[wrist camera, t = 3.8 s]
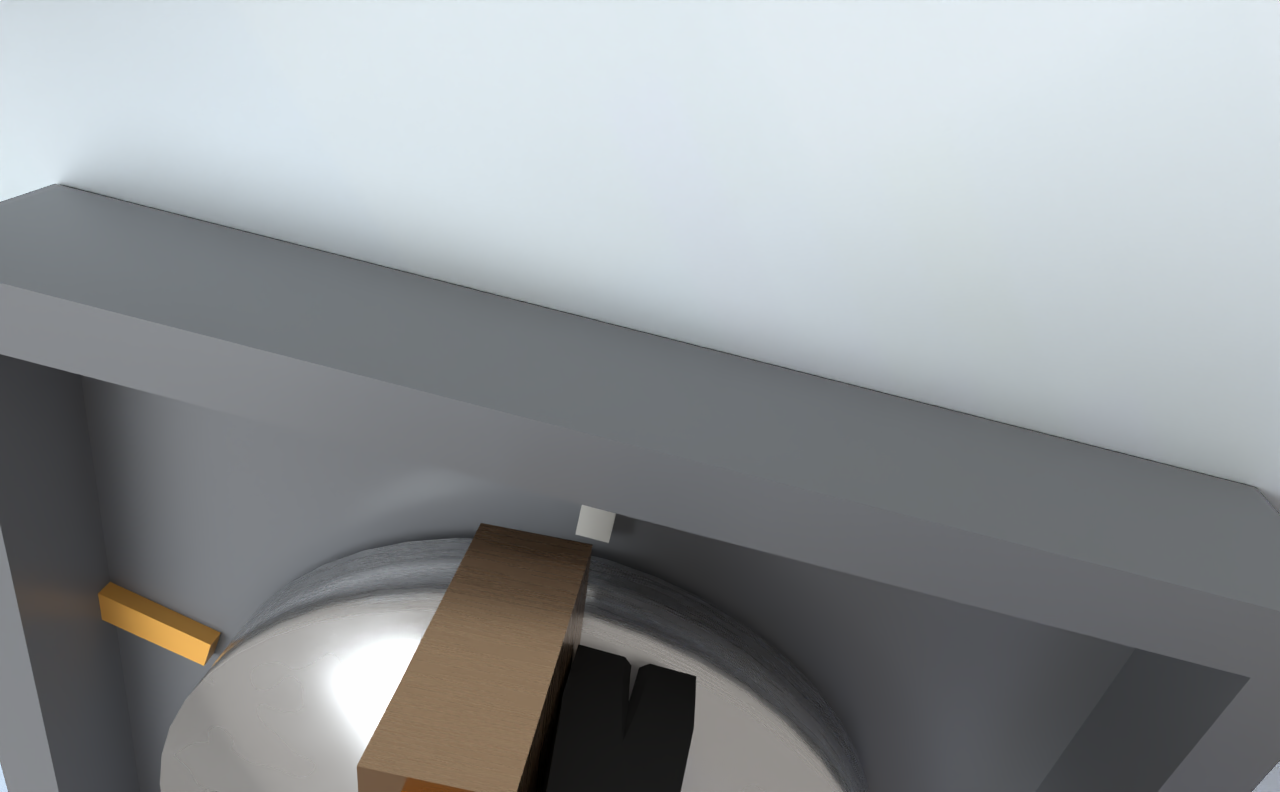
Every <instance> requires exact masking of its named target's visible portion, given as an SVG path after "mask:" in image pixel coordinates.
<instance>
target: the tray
mask: <svg viewBox="0 0 1280 792" xmlns="http://www.w3.org/2000/svg"><path fill="white" fill-rule="evenodd" d="M481 523H485V524H490V525H495V526H500V527H505V528H510V529H516V530H521V531H526V532H531V533H536V534H541V535H546V536H552V537H557V538H562V539H567V540H572V541H577V542H582V543H587V544H593V546H592V554H591V556H595V557H599V558H603V559H607V560H610V561H613V562H616V563H619V564H621V565H624V566H627V567H630V568H632V569H635V570H638V571H641V572H644V573H646V574H649V575H652V576H655V577H657V578H660V579H662V580H664V581H666V582H668V583H670V584H672V585H674V586H676V587H679V588H681V589H683V590H685V591H687V592H689V593H691V594H693V595H695V596H697V597H699V598H701V599H703V600H706V601H707V602H709V603H710V604H712V605H714V606H715V607H717V608H718V609H720V610H722V611H723V612H725V613H726V614H728V615H730V616H731V617H733V618H735V619H736V620H738V621H739V622H741V623H743V624H744V625H746V626H747V627H749V628H750V629H751V630H753V631H754V632H755V633H756V634H758V635H759V636H760V637H761V638H763V639H764V640H765V641H766V642H768V643H769V644H770V645H772V646H773V647H774V648H775V649H777V650H778V651H779V652H780V653H782V654H783V655H784V656H785V657H786V658H787V659H788V660H789V661H790V662H791V663H792V664H793V665H794V666H795V667H796V668H797V669H798V670H799V671H800V672H801V673H802V674H803V675H804V676H805V677H806V678H807V679H808V680H809V681H810V682H811V683H812V684H813V685H814V686H815V687H816V688H817V690H818V691H819V692H820V694H821V695H822V697H823V698H824V699H825V701H826V702H827V703H828V705H829V706H830V707H831V709H832V710H833V711H834V713H835V714H836V715H837V717H838V718H839V720H840V721H841V723H842V725H843V727H844V729H845V731H846V732H847V734H848V736H849V738H850V740H851V742H852V744H853V746H854V748H855V750H856V752H857V754H858V757H859V760H860V763H861V766H862V769H863V772H864V776H865V779H866V782H867V785H868V792H1252V791H1253V790H1254V788H1255V787H1256V786H1257V785H1258V784H1259V783H1260V782H1261V781H1262V780H1263V779H1264V777H1265V776H1266V775H1267V774H1268V773H1269V772H1270V771H1271V770H1272V769H1273V767H1274V766H1275V765H1276V764H1277V763H1278V762H1279V761H1280V514H1279V513H1278V512H1277V511H1276V510H1275V509H1274V507H1273V506H1272V505H1271V504H1270V503H1269V502H1268V501H1267V499H1266V498H1265V497H1264V496H1263V495H1262V494H1261V493H1260V491H1259V490H1258V489H1257V488H1256V487H1252V486H1248V485H1244V484H1240V483H1236V482H1232V481H1228V480H1224V479H1220V478H1216V477H1212V476H1209V475H1205V474H1201V473H1197V472H1193V471H1189V470H1185V469H1181V468H1177V467H1173V466H1169V465H1165V464H1161V463H1157V462H1153V461H1149V460H1145V459H1141V458H1137V457H1133V456H1129V455H1126V454H1122V453H1118V452H1114V451H1110V450H1106V449H1102V448H1098V447H1094V446H1090V445H1086V444H1082V443H1078V442H1074V441H1070V440H1066V439H1062V438H1058V437H1054V436H1050V435H1046V434H1043V433H1039V432H1035V431H1031V430H1027V429H1023V428H1019V427H1015V426H1011V425H1007V424H1003V423H999V422H995V421H991V420H987V419H983V418H979V417H975V416H971V415H967V414H963V413H959V412H956V411H952V410H948V409H944V408H940V407H936V406H932V405H928V404H924V403H920V402H916V401H912V400H908V399H904V398H900V397H896V396H892V395H888V394H884V393H880V392H876V391H873V390H869V389H865V388H861V387H857V386H853V385H849V384H845V383H841V382H837V381H833V380H829V379H825V378H821V377H817V376H813V375H809V374H805V373H801V372H797V371H793V370H790V369H786V368H782V367H778V366H774V365H770V364H766V363H762V362H758V361H754V360H750V359H746V358H742V357H738V356H734V355H730V354H726V353H722V352H718V351H714V350H710V349H706V348H703V347H699V346H695V345H691V344H687V343H683V342H679V341H675V340H671V339H667V338H663V337H659V336H655V335H651V334H647V333H643V332H639V331H635V330H631V329H627V328H623V327H620V326H616V325H612V324H608V323H604V322H600V321H596V320H592V319H588V318H584V317H580V316H576V315H572V314H568V313H564V312H560V311H556V310H552V309H548V308H544V307H540V306H537V305H533V304H529V303H525V302H521V301H517V300H513V299H509V298H505V297H501V296H497V295H493V294H489V293H485V292H481V291H477V290H473V289H469V288H465V287H461V286H457V285H453V284H450V283H446V282H442V281H438V280H434V279H430V278H426V277H422V276H418V275H414V274H410V273H406V272H402V271H398V270H394V269H390V268H386V267H382V266H378V265H374V264H370V263H367V262H363V261H359V260H355V259H351V258H347V257H343V256H339V255H335V254H331V253H327V252H323V251H319V250H315V249H311V248H307V247H303V246H299V245H295V244H291V243H287V242H284V241H280V240H276V239H272V238H268V237H264V236H260V235H256V234H252V233H248V232H244V231H240V230H236V229H232V228H228V227H224V226H220V225H216V224H212V223H208V222H204V221H201V220H197V219H193V218H189V217H185V216H181V215H177V214H173V213H169V212H165V211H161V210H157V209H153V208H149V207H145V206H141V205H137V204H133V203H129V202H125V201H121V200H117V199H114V198H110V197H106V196H102V195H98V194H94V193H90V192H86V191H82V190H78V189H74V188H70V187H66V186H62V185H58V184H53V185H50V186H47V187H44V188H41V189H38V190H35V191H32V192H29V193H26V194H23V195H20V196H17V197H14V198H11V199H8V200H5V201H2V202H0V763H1V767H2V770H3V774H4V778H5V782H6V785H7V789H8V792H161V789H160V774H161V757H162V752H163V749H164V745H165V742H166V739H167V735H168V732H169V728H170V726H171V724H172V723H173V721H174V719H175V717H176V715H177V714H178V712H179V710H180V708H181V706H182V705H183V703H184V701H185V700H186V699H187V697H188V696H189V695H190V693H191V692H192V691H193V690H194V688H195V687H196V686H197V684H198V683H199V682H200V681H201V679H202V678H203V677H204V676H205V674H206V673H207V672H208V670H209V669H210V668H211V667H212V665H213V664H214V663H215V661H216V660H217V659H218V658H219V656H220V655H221V654H222V653H223V651H224V650H225V649H226V647H227V646H228V645H229V644H230V642H231V641H232V640H233V638H234V637H235V636H236V635H237V633H238V632H239V631H240V630H241V628H242V627H243V626H244V625H245V624H246V622H247V621H248V620H249V619H250V618H251V617H252V616H253V615H254V613H255V612H256V611H257V610H258V609H259V608H260V607H261V605H262V604H263V603H264V602H266V601H267V600H268V599H269V598H271V597H272V596H273V595H275V594H276V593H277V592H279V591H280V590H281V589H282V588H284V587H285V586H286V585H288V584H289V583H290V582H292V581H294V580H295V579H297V578H299V577H301V576H303V575H305V574H307V573H309V572H311V571H312V570H314V569H316V568H318V567H320V566H322V565H324V564H326V563H329V562H332V561H335V560H338V559H341V558H343V557H346V556H349V555H352V554H355V553H358V552H361V551H364V550H368V549H373V548H378V547H383V546H388V545H393V544H398V543H403V542H409V541H422V540H435V539H448V538H471V539H473V538H474V536H475V534H476V532H477V530H478V528H479V526H480V524H481Z"/></svg>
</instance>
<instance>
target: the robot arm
mask: <svg viewBox="0 0 1280 792" xmlns="http://www.w3.org/2000/svg"><path fill="white" fill-rule="evenodd" d="M631 667H632V666H631V664H630V663H629V661H628V660H627V659H626V657H624V656H620V655H616V654H613V653H609V652H605V651H602V650H598V649H594V648H591V647H587V646H583V645H580V644H578V647H577V651H576V654H575V657H574V660H573V663H572V666H571V670H570V673H569V676H568V679H567V682H566V686H565V689H564V692H563V696H562V700H561V705H560V709H559V713H558V717H557V721H556V726H555V730H554V734H553V739H552V744H551V749H550V754H549V758H548V763H547V768H546V773H545V778H544V783H543V787H542V792H681V788H682V783H683V778H684V774H685V769H686V764H687V759H688V754H689V749H690V745H691V740H692V735H693V730H694V717H695V700H696V676H694V675H690V674H687V673H683V672H679V671H675V670H672V669H668V668H664V667H661V666H657V665H653V664H647V665H644V666H642V667H639V669H638V673H637V676H636V679H635V683H634V686H633V690H632V693H631V696H630V700H629V686H630V674H631Z"/></svg>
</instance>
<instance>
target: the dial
mask: <svg viewBox="0 0 1280 792" xmlns="http://www.w3.org/2000/svg"><path fill="white" fill-rule="evenodd" d="M592 546H593V544H587V543H582V542H577V541H572V540H567V539H562V538H557V537H552V536H546V535H541V534H536V533H531V532H526V531H521V530H516V529H510V528H505V527H500V526H495V525H490V524H485V523H481V524H480V526H479V528H478V530H477V532H476V534H475V536H474V538H473V539H471V538H448V539H435V540H422V541H409V542H403V543H398V544H393V545H388V546H383V547H378V548H373V549H368V550H364V551H361V552H358V553H355V554H352V555H349V556H346V557H343V558H341V559H338V560H335V561H332V562H329V563H326V564H324V565H322V566H320V567H318V568H316V569H314V570H312V571H311V572H309V573H307V574H305V575H303V576H301V577H299V578H297V579H295V580H294V581H292V582H290V583H289V584H288V585H286V586H285V587H284V588H282V589H281V590H280V591H279V592H277V593H276V594H275V595H273V596H272V597H271V598H269V599H268V600H267V601H266V602H264V603H263V604H262V605H261V607H260V608H259V609H258V610H257V611H256V612H255V613H254V615H253V616H252V617H251V618H250V619H249V620H248V621H247V622H246V624H245V625H244V626H243V627H242V628H241V630H240V631H239V632H238V633H237V635H236V636H235V637H234V638H233V640H232V641H231V642H230V644H229V645H228V646H227V647H226V649H225V650H224V651H223V653H222V654H221V655H220V656H219V658H218V659H217V660H216V661H215V663H214V664H213V665H212V667H211V668H210V669H209V670H208V672H207V673H206V674H205V676H204V677H203V678H202V679H201V681H200V682H199V683H198V684H197V686H196V687H195V688H194V690H193V691H192V692H191V693H190V695H189V696H188V697H187V699H186V700H185V701H184V703H183V705H182V706H181V708H180V710H179V712H178V714H177V715H176V717H175V719H174V721H173V723H172V724H171V726H170V728H169V732H168V735H167V739H166V742H165V745H164V749H163V752H162V757H161V774H160V789H161V792H542V787H543V783H544V778H545V773H546V768H547V763H548V758H549V754H550V749H551V744H552V739H553V734H554V730H555V726H556V721H557V717H558V713H559V709H560V705H561V700H562V696H563V692H564V689H565V686H566V682H567V679H568V676H569V673H570V670H571V666H572V663H573V660H574V657H575V654H576V651H577V647H578V644H580V645H583V646H587V647H591V648H594V649H598V650H602V651H605V652H609V653H613V654H616V655H620V656H624V657H626V659H627V660H628V661H629V663H630V664H631V666H632V667H631V674H630V686H629V700H630V696H631V693H632V690H633V686H634V683H635V679H636V676H637V673H638V669H639V667H642V666H644V665H647V664H653V665H657V666H661V667H664V668H668V669H672V670H675V671H679V672H683V673H687V674H690V675H694V676H696V700H695V717H694V730H693V735H692V740H691V745H690V749H689V754H688V759H687V764H686V769H685V774H684V778H683V783H682V788H681V792H868V785H867V782H866V779H865V776H864V772H863V769H862V766H861V763H860V760H859V757H858V754H857V752H856V750H855V748H854V746H853V744H852V742H851V740H850V738H849V736H848V734H847V732H846V731H845V729H844V727H843V725H842V723H841V721H840V720H839V718H838V717H837V715H836V714H835V713H834V711H833V710H832V709H831V707H830V706H829V705H828V703H827V702H826V701H825V699H824V698H823V697H822V695H821V694H820V692H819V691H818V690H817V688H816V687H815V686H814V685H813V684H812V683H811V682H810V681H809V680H808V679H807V678H806V677H805V676H804V675H803V674H802V673H801V672H800V671H799V670H798V669H797V668H796V667H795V666H794V665H793V664H792V663H791V662H790V661H789V660H788V659H787V658H786V657H785V656H784V655H783V654H782V653H780V652H779V651H778V650H777V649H775V648H774V647H773V646H772V645H770V644H769V643H768V642H766V641H765V640H764V639H763V638H761V637H760V636H759V635H758V634H756V633H755V632H754V631H753V630H751V629H750V628H749V627H747V626H746V625H744V624H743V623H741V622H739V621H738V620H736V619H735V618H733V617H731V616H730V615H728V614H726V613H725V612H723V611H722V610H720V609H718V608H717V607H715V606H714V605H712V604H710V603H709V602H707V601H706V600H703V599H701V598H699V597H697V596H695V595H693V594H691V593H689V592H687V591H685V590H683V589H681V588H679V587H676V586H674V585H672V584H670V583H668V582H666V581H664V580H662V579H660V578H657V577H655V576H652V575H649V574H646V573H644V572H641V571H638V570H635V569H632V568H630V567H627V566H624V565H621V564H619V563H616V562H613V561H610V560H607V559H603V558H599V557H595V556H591V554H592Z"/></svg>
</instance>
